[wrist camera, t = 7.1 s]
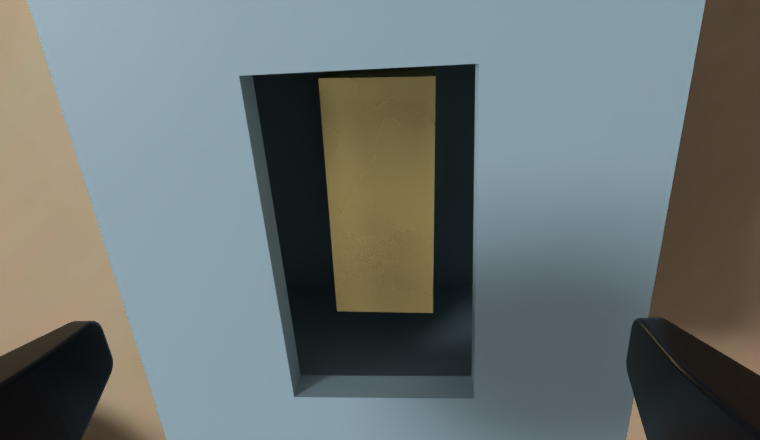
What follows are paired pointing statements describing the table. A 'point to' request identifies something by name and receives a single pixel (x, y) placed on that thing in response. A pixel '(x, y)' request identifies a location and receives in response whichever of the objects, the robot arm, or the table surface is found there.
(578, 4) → the tissue box
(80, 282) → the table surface
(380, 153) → the yellow rectangular block
